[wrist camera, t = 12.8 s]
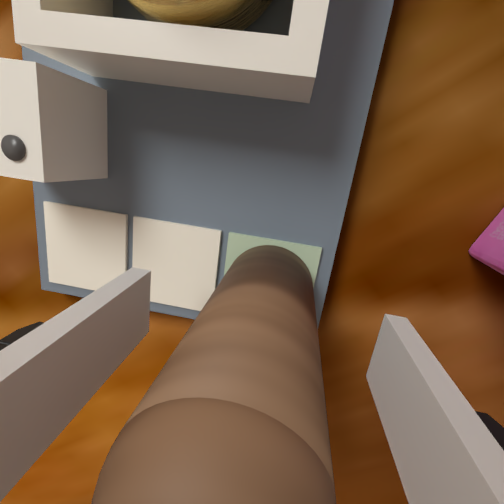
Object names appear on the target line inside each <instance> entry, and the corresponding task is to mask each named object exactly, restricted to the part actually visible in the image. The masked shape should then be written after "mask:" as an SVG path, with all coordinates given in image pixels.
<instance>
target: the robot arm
mask: <svg viewBox="0 0 504 504" xmlns="http://www.w3.org/2000/svg"><path fill="white" fill-rule="evenodd" d="M150 286H151V270H145V269H140V268H134V267H132V268H130V269H129V270H127V271H126V272H124V273H123V274H121V275H119V276H118V277H116V278H115V279H113V280H111V281H110V282H108V283H107V284H105V285H104V286H102V287H100V288H99V289H97V290H96V291H94V292H92V293H91V294H89V295H88V296H86V297H85V298H83V299H81V300H80V301H78V302H77V303H75V304H73V305H72V306H70V307H69V308H67V309H66V310H64V311H62V312H61V313H59V314H58V315H56V316H54V317H53V318H51V319H50V320H48V321H47V322H45V323H43V322H37V323H35V324H32V325H29V326H26V327H23V328H21V329H18V330H16V331H14V332H13V333H11V334H9V335H8V336H6V337H4V338H3V339H1V340H0V501H1V500H2V499H3V498H4V497H5V496H6V495H7V493H8V492H9V491H10V490H11V489H12V488H13V487H14V485H15V484H16V483H17V482H18V481H19V480H20V479H21V477H22V476H23V475H24V474H25V473H26V472H27V471H28V469H29V468H30V467H31V466H32V465H33V464H34V463H35V461H36V460H37V459H38V458H39V457H40V456H41V455H42V453H43V452H44V451H45V450H46V449H47V448H48V447H49V445H50V444H51V443H52V442H53V441H54V440H55V439H56V437H57V436H58V435H59V434H60V433H61V432H62V431H63V429H64V428H65V427H66V426H67V425H68V424H69V423H70V421H71V420H72V419H73V418H74V417H75V416H76V414H77V413H78V412H79V411H80V410H81V409H82V408H83V406H84V405H85V404H86V403H87V402H88V401H89V400H90V398H91V397H92V396H93V395H94V394H95V393H96V392H97V390H98V389H99V388H100V387H101V386H102V385H103V384H104V382H105V381H106V380H107V379H108V378H109V377H110V376H111V374H112V373H113V372H114V371H115V370H116V369H117V368H118V366H119V365H120V364H121V363H122V362H123V361H124V360H125V358H126V357H127V356H128V355H129V354H130V353H131V352H132V350H133V349H134V348H135V347H136V346H137V345H138V344H139V342H140V341H141V340H142V339H143V338H144V337H145V336H146V334H147V333H148V332H149V312H150ZM366 378H367V381H368V384H369V387H370V390H371V393H372V396H373V399H374V402H375V405H376V408H377V411H378V414H379V417H380V420H381V423H382V425H383V428H384V431H385V434H386V437H387V440H388V443H389V446H390V449H391V452H392V455H393V458H394V461H395V464H396V467H397V470H398V473H399V476H400V479H401V482H402V485H403V488H404V491H405V494H406V497H407V500H408V503H409V504H504V428H503V427H502V426H501V425H500V424H499V423H498V422H496V421H495V420H494V419H493V418H492V417H491V416H489V415H488V414H486V413H481V412H476V411H474V409H473V408H472V407H471V405H470V404H469V402H468V401H467V400H466V398H465V397H464V396H463V394H462V393H461V392H460V390H459V389H458V387H457V386H456V385H455V383H454V382H453V381H452V379H451V378H450V376H449V375H448V374H447V372H446V371H445V370H444V368H443V367H442V366H441V364H440V363H439V361H438V360H437V359H436V357H435V356H434V355H433V353H432V352H431V350H430V349H429V348H428V346H427V345H426V344H425V342H424V341H423V340H422V338H421V337H420V335H419V334H418V333H417V331H416V330H415V329H414V327H413V326H412V324H411V323H410V322H409V320H408V319H407V318H405V317H400V316H394V315H389V314H385V315H384V318H383V322H382V325H381V328H380V332H379V335H378V338H377V341H376V345H375V348H374V351H373V355H372V358H371V361H370V364H369V368H368V371H367V374H366Z"/></svg>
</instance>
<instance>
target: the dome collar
mask: <svg viewBox="0 0 504 504" xmlns="http://www.w3.org/2000/svg"><path fill="white" fill-rule="evenodd" d="M328 5H329V0H294V2H293V9H292V15H291V22H290V29H289V36H287V35H277V34H267V33H258V32H248V31H239V30H229V29H219V28H210V27H200V26H191V25H181V24H171V23H162V22H152V21H143V20H133V19H123V18H114V17H113V0H12V10H13V22H14V34H15V43H17V44H20V45H22V46H24V47H26V48H29V49H31V50H33V51H36V52H38V53H40V54H43V55H45V56H47V57H49V58H52V59H54V60H56V61H59V62H61V63H63V64H65V65H68V66H70V67H72V68H75V69H77V70H79V71H81V72H84V73H86V74H88V75H91V76H93V77H101V78H109V79H117V80H125V81H133V82H142V83H150V84H158V85H166V86H174V87H182V88H190V89H198V90H206V91H214V92H222V93H230V94H238V95H246V96H254V97H262V98H270V99H278V100H286V101H294V102H302V103H310V99H311V95H312V90H313V86H314V82H315V78H316V72H317V67H318V61H319V55H320V50H321V44H322V39H323V33H324V27H325V22H326V16H327V11H328Z"/></svg>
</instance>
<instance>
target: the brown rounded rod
mask: <svg viewBox="0 0 504 504" xmlns="http://www.w3.org/2000/svg"><path fill="white" fill-rule="evenodd" d="M92 504H336V496H335V487H334V478H333V468H332V459H331V450H330V440H329V431H328V422H327V412H326V403H325V394H324V384H323V375H322V366H321V356H320V347H319V338H318V329H317V319H316V310H315V301H314V291H313V282H312V277H311V274H310V272H309V269H308V267H307V266H306V264H305V263H304V262H303V261H302V259H301V258H300V257H298V256H297V255H296V254H295V253H293V252H292V251H290V250H288V249H285V248H283V247H279V246H274V245H261V246H256V247H253V248H251V249H248V250H246V251H245V252H243V253H242V254H241V255H239V256H238V257H237V258H236V259H235V261H234V262H233V263H232V265H231V266H230V268H229V269H228V271H227V272H226V274H225V275H224V277H223V278H222V280H221V281H220V283H219V284H218V286H217V287H216V289H215V290H214V292H213V293H212V295H211V296H210V298H209V299H208V301H207V302H206V304H205V305H204V307H203V308H202V310H201V311H200V313H199V314H198V316H197V317H196V319H195V320H194V322H193V323H192V325H191V326H190V328H189V329H188V331H187V332H186V334H185V335H184V337H183V338H182V340H181V341H180V343H179V344H178V346H177V347H176V349H175V350H174V352H173V353H172V355H171V356H170V358H169V359H168V361H167V362H166V364H165V365H164V367H163V368H162V370H161V371H160V373H159V375H158V376H157V378H156V379H155V381H154V382H153V384H152V385H151V387H150V388H149V390H148V391H147V393H146V394H145V396H144V397H143V399H142V400H141V402H140V403H139V405H138V406H137V408H136V409H135V411H134V412H133V414H132V415H131V417H130V418H129V420H128V421H127V423H126V424H125V426H124V427H123V429H122V430H121V432H120V433H119V435H118V437H117V438H116V440H115V442H114V443H113V445H112V447H111V449H110V451H109V453H108V455H107V457H106V460H105V462H104V464H103V467H102V469H101V471H100V474H99V478H98V481H97V484H96V488H95V491H94V495H93V499H92Z"/></svg>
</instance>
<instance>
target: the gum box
mask: <svg viewBox="0 0 504 504" xmlns="http://www.w3.org/2000/svg"><path fill="white" fill-rule="evenodd" d="M469 254H470V255H471V256H472V257H474V258H475V259H477V260H479V261H481V262H482V263H484V264H486V265H487V266H489V267H491V268H492V269H494V270H496V271H498V272H499V273H501V274H503V275H504V208H503V209H502V210H501V211H500V213H499V214H498V215H497V216H496V217H495V219H494V220H493V221H492V222H491V223H490V224H489V226H488V227H487V228H486V229H485V230H484V232H483V233H482V234H481V235H480V236H479V238H478V239H477V240H476V241H475V242H474V243H473V245H472V246H471V248H470V249H469Z"/></svg>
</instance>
